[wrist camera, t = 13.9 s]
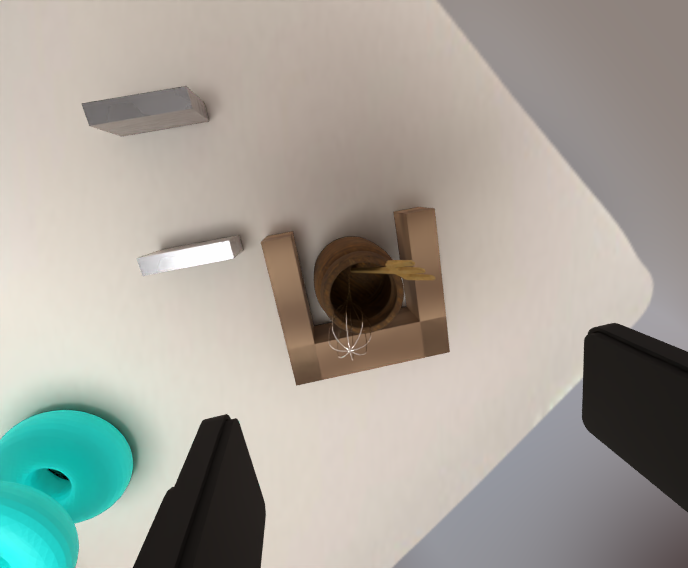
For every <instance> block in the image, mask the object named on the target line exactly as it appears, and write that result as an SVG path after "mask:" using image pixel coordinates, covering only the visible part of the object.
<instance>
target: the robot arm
mask: <svg viewBox="0 0 688 568" xmlns="http://www.w3.org/2000/svg"><path fill="white" fill-rule="evenodd" d="M582 403H583V404H582V420H583V423H584V425H585V427H586V428H587V430H588V431H589V432H590V433H591V434H593V435H594V436H595V437H596V438H597V439H599V440H600V441H601V442H602V443H604V444H605V445H606V446H607V447H608V448H610V449H611V450H612V451H614V452H615V453H616V454H617V455H618V456H619V457H621V458H622V459H623V460H624V461H626V462H627V463H628V464H629V465H630V466H632V467H633V468H634V469H635V470H637V471H638V472H639V473H640V474H641V475H643V476H644V477H645V478H646V479H648V480H649V481H650V482H651V483H652V484H654V485H655V486H657V488H659V489H660V490H661V491H662V492H663V493H665V494H666V495H667V496H668V497H670V498H671V499H672V500H673V501H674V502H676V503H677V504H678V505H679V506H681V507H682V508H683V509H684V510H686V511H687V512H688V352H686V351H684V350H682V349H679V348H677V347H675V346H672V345H670V344H667V343H665V342H662V341H660V340H657V339H655V338H652V337H650V336H647V335H645V334H643V333H640V332H638V331H635V330H633V329H630V328H628V327H625V326H623V325H620V324H617V323H611V324H607V325H603V326H598V327H594V328H592V329H590V330H589V332H588V335H587V336H586V337H585V340H584V368H583V402H582ZM265 517H266V511H265V503H264V499H263V496H262V492H261V489H260V486H259V483H258V480H257V477H256V474H255V471H254V467H253V464H252V461H251V458H250V455H249V452H248V449H247V446H246V442H245V439H244V436H243V433H242V430H241V427H240V424H239V421H238V420H237V419H236V418H235V419H231V418H230V417H229V415H227V414H226V415H221V416H217V417H213V418H209V419H205V420H203V421H202V423H201V425H200V427H199V429H198V432H197V434H196V437H195V439H194V441H193V444H192V446H191V448H190V451H189V453H188V456H187V458H186V460H185V463H184V465H183V468H182V470H181V472H180V475H179V477H178V479H177V482H176V484H175V487H172V488H171V489H169V490H168V491H167V493H166V495H165V496H164V498H163V501H162V503H161V505H160V507H159V510H158V512H157V514H156V516H155V519H154V521H153V523H152V526H151V528H150V530H149V532H148V535H147V537H146V539H145V541H144V544H143V546H142V548H141V551H140V553H139V555H138V557H137V560H136V562H135V564H134V566H133V568H261V558H262V548H263V538H264V528H265Z"/></svg>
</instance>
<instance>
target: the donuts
mask: <svg viewBox="0 0 688 568" xmlns="http://www.w3.org/2000/svg"><path fill="white" fill-rule="evenodd" d="M48 468H49V469H54V470H57V471H60V472H61V473H63V474H64V475H65V476H66V477H67V478H68V479H69V480H66V479H62V478H60V477H58V476H56V475H54V474H53V473H52V472H51V471H49V470H48ZM132 471H133V457H132V452H131V449H130V446H129V444H128V442H127V441H126V439H125V438H124V436H123V435H122V434H121V433H120V432H119V431H118V430H117V429H116V428H115V427H114V426H113V425H112V424H110V423H109V422H107V421H105V420H104V419H102V418H100V417H98V416H95V415H92V414H89V413H86V412H81V411H75V410H55V411H49V412H44V413H40V414H37V415H34V416H32V417H29V418H27V419H25V420H23V421H21V422H20V423H18V424H17V425H15V426H14V427H13V428H11V429H10V430H9V431H8V432H7V433H6V434H5V435H4V436H3V437H2V438H1V440H0V568H75V566H76V563H77V558H78V552H79V541H78V534H77V530H76V527H75V524H74V523H79V522H82V521H85V520H88V519H90V518H93V517H95V516H97V515H99V514H101V513H102V512H104V511H105V510H107V509H108V508H110V507H111V506H112V505H113V504H114V503H115V502H116V501H117V500H118V499H119V498H120V497H121V496H122V494H123V493H124V491H125V490H126V488H127V486H128V484H129V482H130V479H131V475H132Z"/></svg>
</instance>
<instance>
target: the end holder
mask: <svg viewBox="0 0 688 568" xmlns="http://www.w3.org/2000/svg"><path fill="white" fill-rule="evenodd" d="M394 218H395V225H396V233H397V240H398V247H399V254H400V260H412V261H414V262H415V265H414V266H405V267H420V268H423V269H425V273H415V274H427V275H433V276H435V277H436V279H435V280H405V279H403V284H404V291H405V298H406V305H407V307H404V308H400V311H399V312H398V314H397V316H396V317H395V318H394V319H393V320H392V321H391V322H390V323H389V324H388V325H387V326H385V327H384V328H382V329H380V330H378V331H375V332H372V333H371V339H370V333H367V334H366V337H365V334H360V337H359V334H356V333H351V332H348V338H349V344H348V338H347V331H345V330H343V329H341V330H340V327H338V326H337V325H336V324H335V323H334V322H333V331H334V334H335V336H336V337H337V339H338V335H339V341H340V343H341V344H342V345H344V346H345V347H346V348H347V349H349V345H350V350H351V348H352V347H353V346H354V344H355V343H356V341H357V339H358V337H359V339H358V341H357V343H356V344H355V346H354V347H353V348H352V350H354V349H358V348H360V347H362V346H364V345H365V344H366V338H367V342H368V341H369V339H370V341H369V342H368V344H367V352H366V345H365V346H364V347H362V348H360V349H358V350H354V351H352V352H354V353H357V354H364V353H365V352H366V354H364V355H357V354H354V359H353V353H352V352H351V355H352V359H353V360H352V359H351V355H350V352H349V351H348V350H347V349H346V348H345V347H343V346H342V345H341V344H340V343H339V342H338V340H337V339H336V338H335V336H334V334H333V331H332V325H331V323H327V324H322V325H318V326H314V325H313V321H312V316H311V312H310V307H309V303H308V298H307V293H306V289H305V284H304V280H303V275H302V271H301V266H300V262H299V257H298V253H297V248H296V244H295V239H294V235H293V231H292V232H287V233H281V234H276V235H271V236H267V237H266V238H265V239H264V240H263V241H262V242H261V245H262V249H263V253H264V257H265V261H266V265H267V269H268V273H269V277H270V281H271V285H272V289H273V293H274V297H275V301H276V305H277V309H278V313H279V317H280V321H281V325H282V329H283V333H284V337H285V341H286V345H287V349H288V353H289V358H290V362H291V366H292V370H293V374H294V378H295V382H296V385H301V384H306V383H310V382H315V381H319V380H324V379H328V378H333V377H338V376H342V375H347V374H351V373H356V372H360V371H365V370H370V369H374V368H379V367H383V366H388V365H392V364H397V363H402V362H406V361H411V360H415V359H420V358H425V357H429V356H434V355H438V354H443V353H447V352H450V350H449V341H448V331H447V322H446V312H445V303H444V293H443V284H442V274H441V265H440V255H439V246H438V236H437V227H436V217H435V209H434V208H423V207H416V208H411V209H406V210H401V211H395V212H394ZM330 326H331V328H330ZM329 329H330V338H329ZM339 331H340V334H339ZM352 334H353V346H352ZM329 341H330V345H331V346H332V347H333V348H334V349H337V342H338V350H341V351H338V354H337V350H334V349H333V348H332V347H331V346H330V345H329ZM342 351H347V352H342ZM348 352H349V353H348ZM347 353H348V354H347ZM346 354H347V355H346ZM338 355H339V357H343V356H345V355H346V356H345V357H343V358H339V357H338Z"/></svg>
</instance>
